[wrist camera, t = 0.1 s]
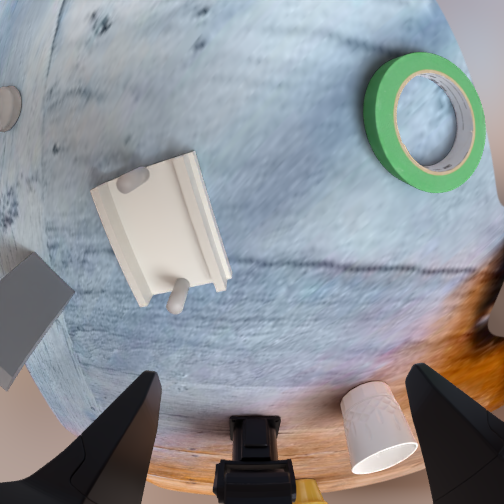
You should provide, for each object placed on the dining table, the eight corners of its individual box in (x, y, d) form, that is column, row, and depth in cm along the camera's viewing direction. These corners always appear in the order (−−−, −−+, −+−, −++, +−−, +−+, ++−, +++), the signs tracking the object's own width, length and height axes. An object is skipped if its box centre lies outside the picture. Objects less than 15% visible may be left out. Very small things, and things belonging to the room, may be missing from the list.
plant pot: (322, 485, 48) (327, 519, 39) (277, 491, 48) (279, 525, 40) (326, 472, 44) (332, 511, 35) (274, 478, 44) (277, 519, 35)
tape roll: (353, 173, 21) (366, 181, 18) (366, 39, 16) (380, 31, 13) (457, 194, 21) (474, 203, 19) (470, 82, 16) (489, 82, 14)
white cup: (403, 376, 31) (430, 437, 22) (375, 412, 34) (393, 468, 25) (351, 376, 30) (374, 448, 21) (326, 413, 33) (339, 477, 24)
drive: (75, 291, 24) (12, 377, 14) (62, 311, 26) (7, 391, 15) (34, 251, 23) (-41, 321, 12) (24, 274, 24) (-41, 343, 13)
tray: (232, 274, 24) (230, 304, 20) (146, 292, 24) (131, 321, 21) (194, 148, 19) (181, 154, 16) (101, 181, 20) (74, 195, 16)
